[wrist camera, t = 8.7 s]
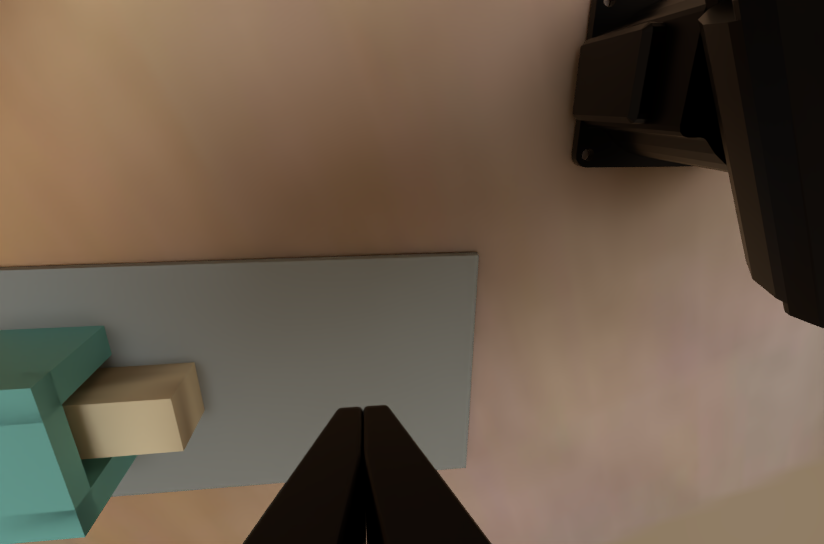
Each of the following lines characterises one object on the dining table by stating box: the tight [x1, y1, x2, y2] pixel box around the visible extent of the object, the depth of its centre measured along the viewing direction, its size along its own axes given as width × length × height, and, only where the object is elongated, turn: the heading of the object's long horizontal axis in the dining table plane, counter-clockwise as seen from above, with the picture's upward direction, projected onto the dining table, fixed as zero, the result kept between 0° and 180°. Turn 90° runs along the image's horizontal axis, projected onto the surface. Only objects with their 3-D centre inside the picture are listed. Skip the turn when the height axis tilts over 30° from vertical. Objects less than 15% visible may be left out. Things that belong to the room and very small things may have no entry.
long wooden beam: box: [62, 362, 205, 459], centre depth 18 cm, size 9×3×3 cm, turn 90°
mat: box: [0, 252, 479, 497], centre depth 20 cm, size 20×12×1 cm, turn 90°
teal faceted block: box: [0, 326, 137, 544], centre depth 17 cm, size 4×7×4 cm, turn 0°
